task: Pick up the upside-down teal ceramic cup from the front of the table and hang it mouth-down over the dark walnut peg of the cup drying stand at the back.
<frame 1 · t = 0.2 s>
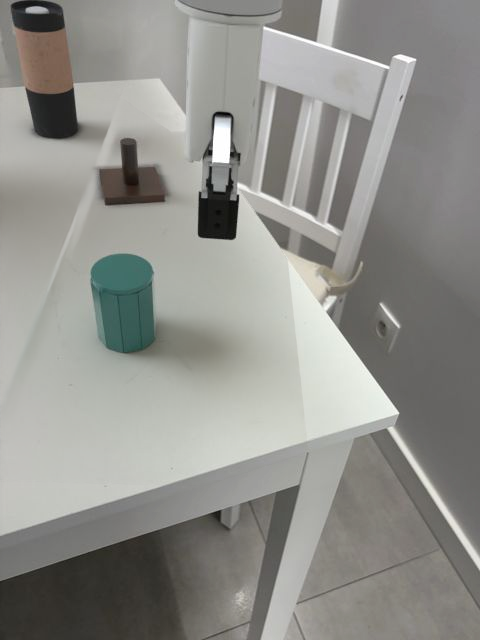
hand: (218, 206, 50), 19 cm above the table, tool pointing down, fingers open, 9 cm apart
travel mug: (57, 137, 97), on the table
cup: (127, 332, 64), on the table
cup stand: (131, 188, 87), on the table
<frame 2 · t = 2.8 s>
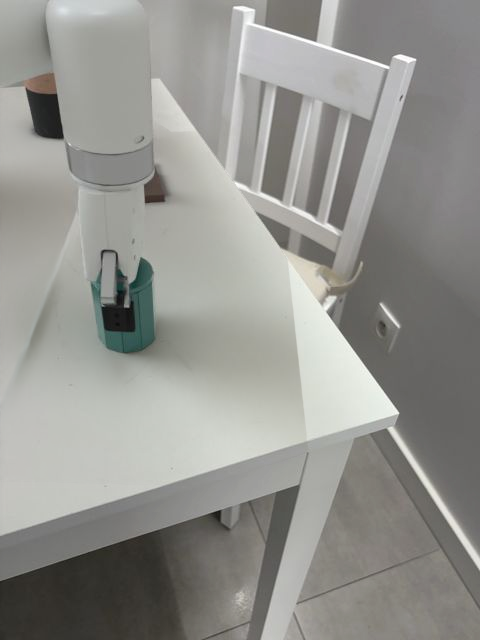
hand: (125, 306, 61), 4 cm above the table, tool pointing down, fingers closed on cup, 6 cm apart
cup: (127, 332, 64), on the table, touching gripper
everything else where it was.
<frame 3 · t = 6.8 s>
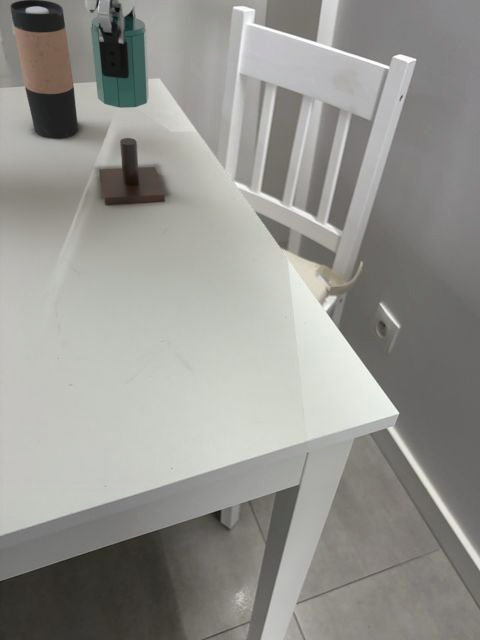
hand: (120, 65, 71), 20 cm above the table, tool pointing down, fingers closed on cup, 6 cm apart
cup: (123, 97, 73), point 15 cm above the table, touching gripper
everything else where it was.
when the fingers open (5 cm above the table, at t = 11.0 s): cup stays where it is, resting on cup stand.
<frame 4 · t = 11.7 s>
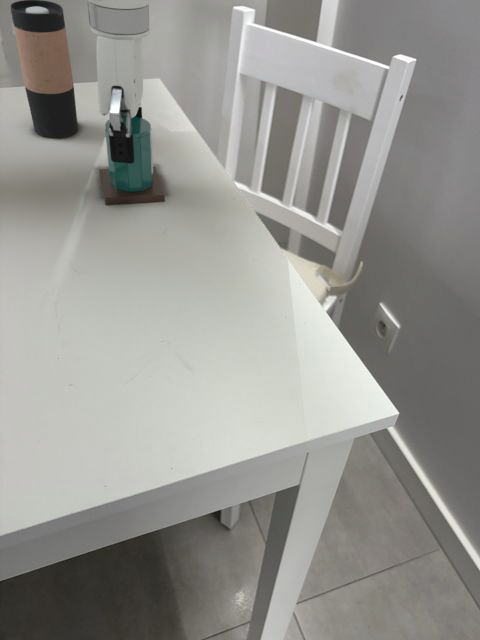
hand: (127, 146, 82), 7 cm above the table, tool pointing down, fingers open, 9 cm apart
cup: (132, 181, 86), point 1 cm above the table, touching cup stand
everything else where it was.
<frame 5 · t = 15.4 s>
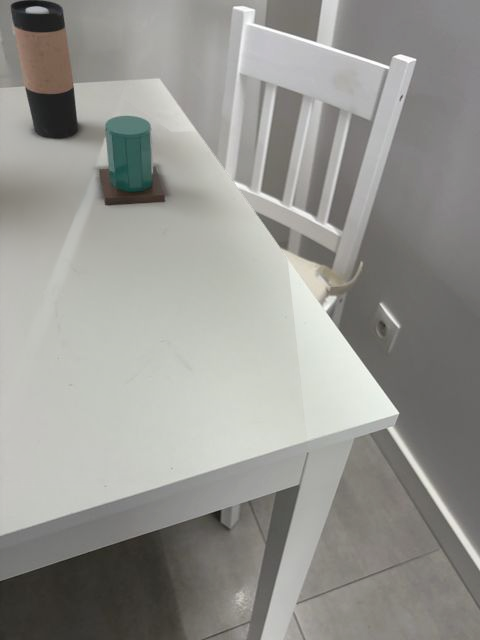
nothing on the table moved.
at the end: cup 0.2 cm off-centre on the cup stand, point 1.2 cm above the cup stand's base; cup tilted 0°; the gripper is holding nothing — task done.
